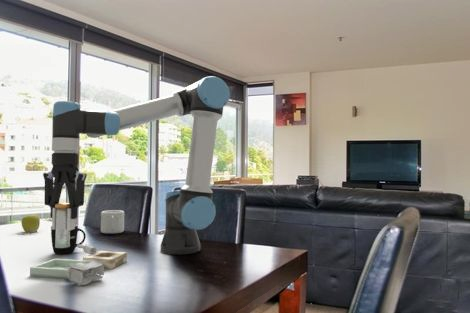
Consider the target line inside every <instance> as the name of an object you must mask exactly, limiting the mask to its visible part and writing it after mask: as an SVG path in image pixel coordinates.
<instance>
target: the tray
mask: <svg viewBox="0 0 470 313" xmlns="http://www.w3.org/2000/svg"><path fill="white" fill-rule="evenodd" d="M73 262H74V264H75V263H76V264H77V263H81V262H82V263H83V259H81V260H80V259H68V258H66V259H65V258H53V259H49V260H47V261H45V262H42V263H39V264H37V265H36V264H35V265H33V266H31V267H29V277H38V278H40V277H41V278H49V279H62V280H69V279H68V277H69V275H67V274H68V272H67V273H65V271H64V267H66V266H67V267H70V263H72V264H73ZM68 265H69V266H68ZM62 268H63V269H62ZM65 269H66V268H65ZM62 270H63V271H64V272H63V271H62ZM66 270H67V269H66ZM67 271H68V270H67Z"/></svg>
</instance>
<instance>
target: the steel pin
mask: <svg viewBox="0 0 470 313" xmlns="http://www.w3.org/2000/svg"><path fill="white" fill-rule="evenodd" d="M69 207H70V203H69V202H59V203H56V204H55V208H56V239H55V247H56V248H67V247H70V230H67V213H68V208H69Z"/></svg>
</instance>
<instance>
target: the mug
mask: <svg viewBox="0 0 470 313" xmlns="http://www.w3.org/2000/svg"><path fill="white" fill-rule="evenodd" d="M78 226H79V225H78V224H76V223H75V229H73V230H70V247H67V248H56V247H55V239H56V229H55V230H52V225H51V227H50V235H51V237H50V238H51V246H52V250H53V253H54V254H55V255H58V256H66V255H71V254H73V253H74V252H75V250H76V248H78V247H77V245H78V244H79V245H80V246H81V244H82V245H83V243H85V240H86V237H87V236H86V232H85V231H84V230H83V229H81V228H79V227H78ZM79 232H81V233H82V234H83V238H82V239H81V241H80V242H79V243H77V239H78V233H79Z"/></svg>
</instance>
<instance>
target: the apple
mask: <svg viewBox="0 0 470 313" xmlns="http://www.w3.org/2000/svg"><path fill="white" fill-rule="evenodd" d="M21 227H22V229H23V231H24V232H25V233H35V232H37V231H38V230H39V228H40V218H39V216H38V215H37V214H33V213H31V214H29V215H25V216H23V217H22V219H21Z"/></svg>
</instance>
